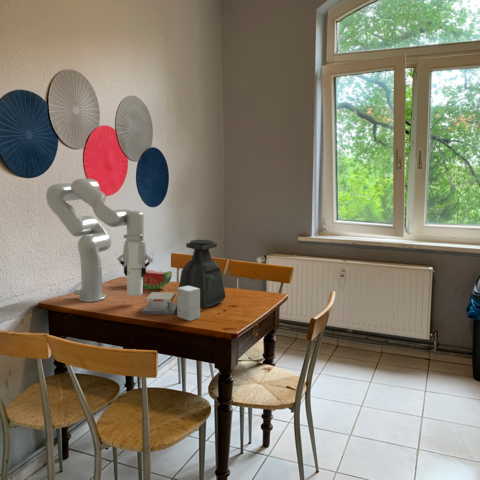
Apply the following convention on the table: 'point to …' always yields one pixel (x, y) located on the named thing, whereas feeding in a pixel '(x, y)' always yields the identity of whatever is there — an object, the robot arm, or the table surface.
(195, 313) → the small box
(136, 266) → the cylindrical container
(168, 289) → the table surface
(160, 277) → the fruit slice
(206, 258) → the bottle
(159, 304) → the stand
